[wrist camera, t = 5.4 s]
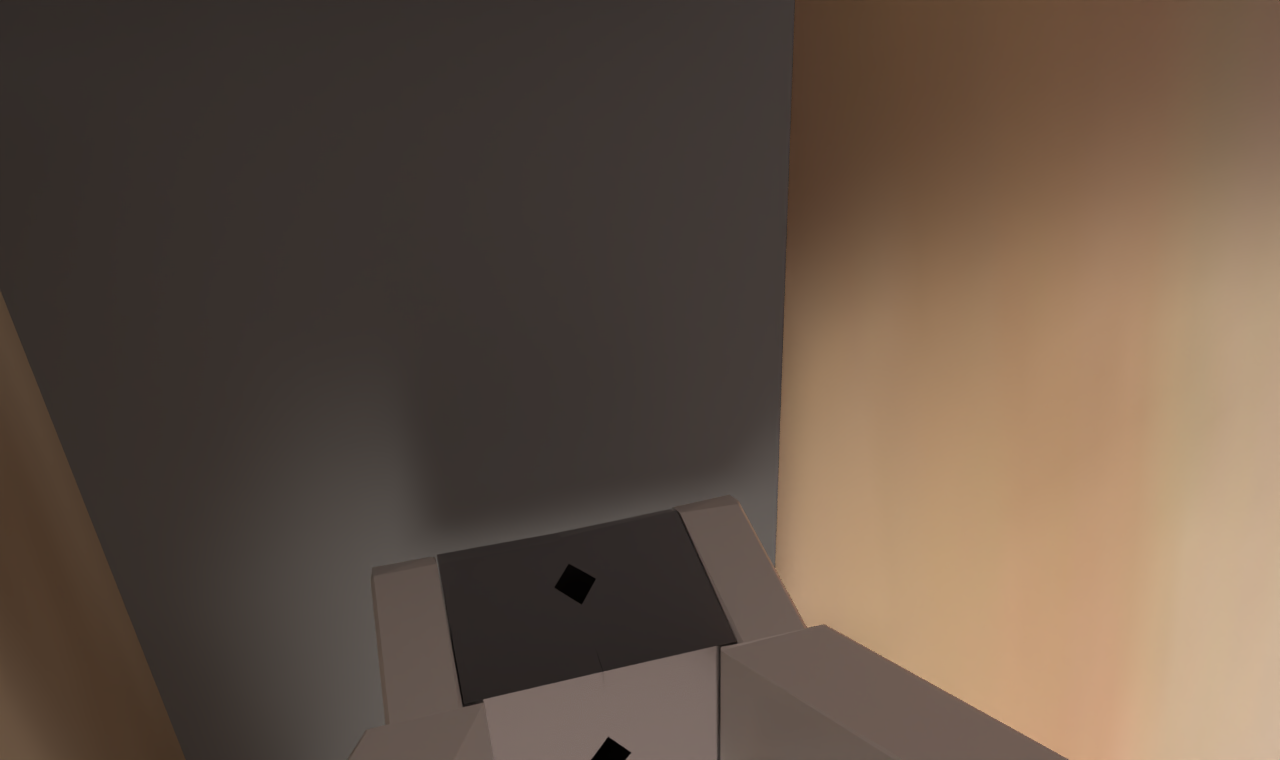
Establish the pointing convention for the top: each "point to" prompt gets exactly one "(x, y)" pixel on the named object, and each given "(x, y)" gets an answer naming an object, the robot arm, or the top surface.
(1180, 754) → the top surface
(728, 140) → the guide channel
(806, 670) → the robot arm
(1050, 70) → the top surface
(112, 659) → the block
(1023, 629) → the top surface
